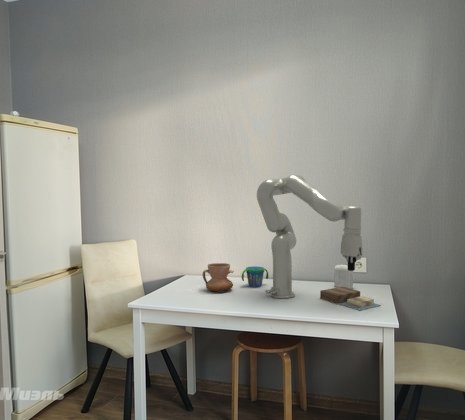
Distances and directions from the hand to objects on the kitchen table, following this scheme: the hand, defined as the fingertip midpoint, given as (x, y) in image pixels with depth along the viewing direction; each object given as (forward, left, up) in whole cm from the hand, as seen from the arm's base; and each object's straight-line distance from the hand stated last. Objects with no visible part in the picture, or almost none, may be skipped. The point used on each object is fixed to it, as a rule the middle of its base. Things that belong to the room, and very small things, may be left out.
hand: (351, 270), depth 206 cm
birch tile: (0, -5, -14) cm, 15 cm away
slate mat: (0, -5, -16) cm, 16 cm away
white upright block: (+19, +24, -16) cm, 34 cm away
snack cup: (-19, +54, -16) cm, 59 cm away
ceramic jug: (-41, +57, -16) cm, 72 cm away
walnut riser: (0, +8, -16) cm, 17 cm away
